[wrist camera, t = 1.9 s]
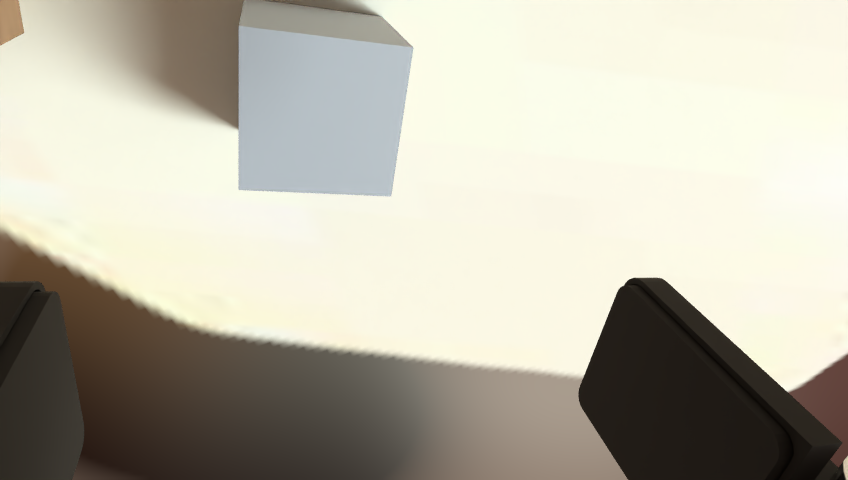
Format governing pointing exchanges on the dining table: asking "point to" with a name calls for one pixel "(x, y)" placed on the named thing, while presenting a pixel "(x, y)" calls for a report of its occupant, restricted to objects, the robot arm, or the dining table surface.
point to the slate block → (319, 99)
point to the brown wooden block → (10, 20)
